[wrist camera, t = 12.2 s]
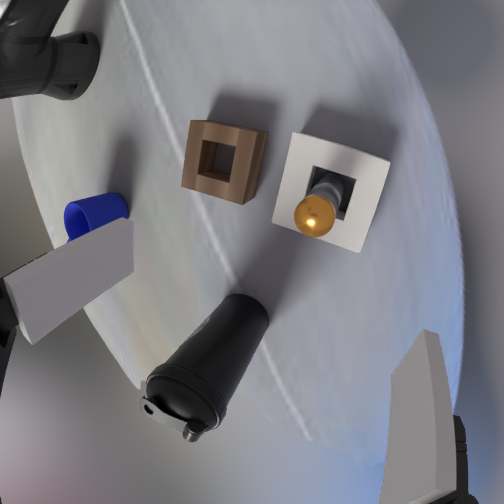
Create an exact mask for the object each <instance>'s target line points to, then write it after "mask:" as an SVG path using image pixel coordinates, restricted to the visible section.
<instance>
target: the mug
mask: <svg viewBox="0 0 504 504" xmlns="http://www.w3.org/2000/svg"><path fill="white" fill-rule="evenodd" d="M122 217H123V218H125V219H127V218H128V210H127V206H126V203H125V201H124V200H123V198H122V197H121V196H119V195H118V194H116V193H106V194H102V195H97V196H93V197H89V198H85V199H81V200H77V201H73V202H70V203H69V204H68V205H67V206H66V208H65V211H64V224H65V228H66V232H67V234H68V236H69V239H68V241H67V243H68V242H70V241H72V240H74V239H76V238H79V237H81V236H83V235H85V234H87V233H89V232H91V231H93V230H95V229H97V228H99V227H102V226H104V225H106V224H108V223H110V222H113V221H115V220H117V219H119V218H122Z"/></svg>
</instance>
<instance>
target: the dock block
mask: <svg viewBox="0 0 504 504" xmlns="http://www.w3.org/2000/svg"><path fill="white" fill-rule="evenodd" d="M317 166H318V167H321V168H324V169H327V170H330V171H333V172H336V173H340V174H343V175H346V176H348V177H351V178H354V179H356V180H355V184H354V187H353V190H352V194H351V197H350V200H349V203H348V206H347V209H346V212H343V211H340V210H338V212H337V215H336V218H335V221H334V224H333V227H332V229H331V230H330V231H329V232H328V233H327V234H325V235H324V236H321V237H315V238H317V239H320V240H323V241H326V242H329V243H332V244H334V245H337V246H340V247H343V248H345V249H348V250H351V251H354V252H356V253H360V251H361V248H362V245H363V243H364V240H365V238H366V235H367V232H368V229H369V227H370V224H371V221H372V218H373V216H374V213H375V210H376V207H377V204H378V201H379V198H380V195H381V192H382V189H383V186H384V183H385V180H386V176H387V173H388V170H389V167H390V162H389V161H388V160H386V159H383V158H381V157H378V156H375V155H372V154H370V153H367V152H364V151H361V150H358V149H355V148H352V147H349V146H346V145H342V144H339V143H336V142H333V141H329V140H326V139H323V138H319V137H315V136H312V135H308V134H304V133H301V132H293V134H292V138H291V143H290V147H289V151H288V155H287V160H286V164H285V168H284V172H283V176H282V181H281V185H280V189H279V193H278V197H277V201H276V205H275V210H274V214H273V218H272V222H271V223H274V224H277V225H280V226H283V227H286V228H289V229H292V230H294V231H297V232H300V233H302V232H301V231H300V230H299V229H298V228H297V226H296V224H295V221H294V211H295V209H296V207H297V205H298V204H299V203H300V202H301V201H302V200H303V198H304V197H305V196H306V195H307V194H308V193H309V192H310V191H311V187H312V183H313V180H314V176H315V172H316V168H317Z"/></svg>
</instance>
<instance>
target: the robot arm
mask: <svg viewBox="0 0 504 504" xmlns="http://www.w3.org/2000/svg"><path fill="white" fill-rule="evenodd" d="M68 2H69V0H0V99H4V98H10V97H17V96H25V95H33V94H44V95H47V96H50V97H53V98H56V99H59V100H74V99H76V98H78V97H80V96H81V95H82V94H83V93H84V92H85V90H86V89H87V88H88V86H89V85H90V83H91V81H92V79H93V76H94V74H95V71H96V68H97V64H98V59H99V43H98V40H97V38H96V36H95V35H94V34H93V33H91V32H85V31H76V32H72V33H68V34H64V35H60V36H56V37H50V36H51V34H52V32H53V30H54V28H55V26H56V24H57V22H58V20H59V18H60V16H61V14H62V12H63V11H64V9H65V7H66V5H67V3H68ZM133 224H134V222H133V221H131V220H128V219H125V218H123V217H122V218H119V219H117V220H115V221H113V222H110V223H108V224H106V225H104V226H102V227H99V228H97V229H95V230H93V231H91V232H89V233H87V234H85V235H83V236H81V237H79V238H76V239H74V240H72V241H70V242H68V243H66V244H64V245H62V246H60V247H59V248H57V249H55V250H53V251H51V252H49V253H45V254H43V255H41V256H40V257H38V258H36V259H35V260H32V261H30V262H28V264H25V265H23V266H22V267H20V268H18V269H16V270H14V271H12V272H11V273H9V274H7V275H5V276H4V277H2V278H0V396H1V391H2V386H3V382H4V377H5V373H6V369H7V365H8V361H9V357H10V354H11V350H12V346H13V343H14V340H15V336H16V331H17V330H16V328H15V326H17V325H18V324H19V326H20V328H21V330H22V333H23V335H24V336H25V337H26V338H27V340H28V341H29V342H30V343H31V344H32V345H33V344H35V343H36V342H37V341H38V340H40V339H41V338H42V337H44V336H45V335H46V334H48V333H49V332H50V331H51V330H53V329H54V328H55V327H57V326H58V325H59V324H61V323H62V322H63V321H65V320H66V319H67V318H69V317H70V316H72V315H73V314H74V313H76V312H77V311H78V310H80V309H81V308H83V307H84V306H85V305H87V304H88V303H90V302H91V301H92V300H94V299H95V298H97V297H98V296H99V295H101V294H102V293H104V292H105V291H107V290H108V289H109V288H111V287H112V286H114V285H115V284H117V283H118V282H119V281H121V280H122V279H124V278H125V277H127V276H128V275H130V274H131V273H133V272H134V262H133ZM465 442H466V435H465V428H464V426H463V423H462V421H461V419H460V416H455V415H453V412H452V404H451V397H450V390H449V384H448V378H447V372H446V367H445V362H444V357H443V353H442V348H441V344H440V339H439V335H438V334H436V333H433V332H430V331H427V330H425V329H423V330H422V332H421V333H420V335H419V336H418V338H417V339H416V341H415V342H414V344H413V345H412V347H411V348H410V350H409V351H408V353H407V354H406V355H405V357H404V358H403V359H402V361H401V362H400V364H399V365H398V366H397V368H396V369H395V370H394V372H393V373H392V374H391V400H390V420H389V433H388V444H387V454H386V462H385V469H384V477H383V483H382V489H381V495H380V500H379V504H479V503H478V501H477V500H476V498H475V497H474V496H472V495H471V494H468V463H467V461H468V460H467V454H466V452H467V445H466V444H465ZM0 504H2V503H1V498H0Z"/></svg>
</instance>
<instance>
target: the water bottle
mask: <svg viewBox="0 0 504 504" xmlns="http://www.w3.org/2000/svg"><path fill="white" fill-rule="evenodd" d="M268 324H269V318H268V314H267V312H266V310H265V308H264V307H263V306H262V305H261V304H260V303H259V302H258V301H257V300H255V299H254V298H252V297H250V296H247V295H243V294H233V295H230V296H228V297H227V298H226V299H225V300H224V301H223V302H222V303H221V304H220V305H219V306H218V307H217V308H216V309H215V310H214V311H213V312H212V313H211V315H210V316H208V317H207V318H206V319H205V320H204V322H203V323H202V324H201V325H200V326H199V327H198V328H197V329H196V330H195V331H194V333H192V334H191V335H190V336H189V337H188V338H187V339H186V341H185V342H184V343H183V344H182V345H181V346H180V347H179V348H178V350H177V351H176V352H175V353H174V354H173V355H172V356H171V357H170V358H169V359H168V360H167V361H166V362H165V363H164V364H161V365H160V366H158V367H156V368H155V369H154V371H153V372H152V373H151V374H150V375H149V376H148V378H147V382H146V383H147V389H146V392H147V397H148V398H145V396H143V398H142V399H141V401H140V407H141V410H142V412H143V413H144V414H145V415H146V416H148V417H149V418H151V419H153V420H155V421H158V422H160V423H163V424H165V425H167V426H169V427H172V428H174V429H176V430H179V431H181V432H183V437H184V439H185V440H187V441H189V442H195V441H197V440H198V439H199V437H200V436H201V435H202V434H203V433H204V432H207V431H209V430H212V429H215V428H217V427H218V426H219V425H220V423H221V421H222V420H223V418H224V417H225V415H226V410H227V405H228V403H229V401H230V399H231V397H232V396H233V394H234V392H235V390H236V388H237V386H238V384H239V382H240V380H241V379H242V377H243V375H244V373H245V371H246V369H247V367H248V365H249V363H250V361H251V359H252V357H253V355H254V353H255V351H256V349H257V347H258V345H259V343H260V341H261V339H262V337H263V335H264V333H265V331H266V329H267V327H268Z"/></svg>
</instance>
